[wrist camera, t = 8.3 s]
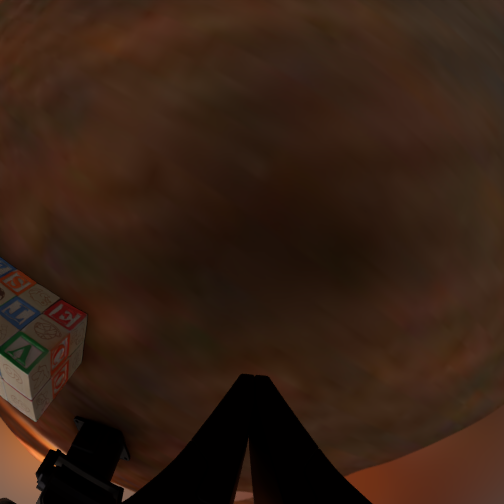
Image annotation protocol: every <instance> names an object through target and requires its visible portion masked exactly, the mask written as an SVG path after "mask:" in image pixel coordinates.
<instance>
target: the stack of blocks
mask: <svg viewBox="0 0 504 504" xmlns="http://www.w3.org/2000/svg"><path fill="white" fill-rule="evenodd" d="M86 325H87V314H86V313H84V312H82V311H80V310H78V309H77V308H75V307H73V306H71V305H70V304H68V303H66V302H65V301H63V300H60V298H59V297H58V296H57V295H55V294H53V293H52V292H50V291H49V290H47V289H46V288H44V287H43V286H41V285H39V284H37V283H36V282H35V281H34V280H32V279H31V278H29V277H28V276H27V275H25V274H24V273H22V272H21V271H20V270H18V269H17V270H16V268H14V267H13V266H12V265H10V264H9V263H8V262H6V261H5V260H4V259H2V258H1V257H0V395H1V396H2V397H3V398H4V399H5V400H7V401H9V402H10V403H11V404H12V405H13V406H15V407H16V408H17V409H18V410H20V411H21V412H22V413H24V414H25V415H26V416H28V417H29V418H31V419H32V420H33V421H35V422H36V421H37V420H38V419H39V417H40V416H41V415H42V413H43V412H44V411H45V409H46V408H47V407H48V405H49V404H50V403H51V401H52V399H54V398H55V397H56V396H57V394H58V393H59V392H60V390H61V389H62V388H63V386H64V385H65V384H66V382H67V381H68V379H69V378H70V377H71V375H72V374H73V373H74V371H75V370H76V369H77V367H78V366H79V365H80V363H81V362H82V355H83V346H84V339H85V333H86Z"/></svg>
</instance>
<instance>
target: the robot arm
mask: <svg viewBox="0 0 504 504" xmlns="http://www.w3.org/2000/svg"><path fill="white" fill-rule="evenodd" d="M74 422H75V424H76V426H77V429H78V431H79V432H78V434H77V435H76V437H75V439H74V441H73V442H72V445H71V447H70V449H69V451H68V453H67V455H65V454H64V453H62V452H61V451H60V450H59V449H57V451H54V450H51V449H50V450H49V452H48V454H47V455H46V457H45V459H44V460H43V462H42V464H41V465H40V467H39V468H38V470H37V472H36V477H37V480H38V481H37V483H38V485H37V487H36V488H37V489H39V490H40V491H42V492H41V494H40V496H39V498H38V500H37V502H36V504H233V503H234V499H235V495H236V491H237V487H238V482H239V478H240V474H241V470H242V465H243V461H244V456H245V452H246V447H247V442H248V437H249V451H250V463H251V475H252V486H253V497H254V504H372V503H371V502H370V501H369V500H368V499H367V498H366V497H364V496H363V495H362V494H361V493H360V492H359V491H358V490H357V489H356V488H355V487H354V486H352V485H351V484H350V483H349V482H348V481H347V480H346V479H345V478H344V477H343V476H342V475H341V474H340V473H339V472H338V471H337V469H336V468H335V467H334V466H333V465H332V464H331V462H330V461H329V460H328V459H327V457H326V456H325V455H324V454H323V452H322V451H321V449H318V448H319V447H318V446H317V444H316V443H315V442H314V440H313V439H312V438H311V436H310V435H309V433H308V432H307V431H306V429H305V428H304V427H303V425H302V424H301V422H300V421H299V420H298V418H297V417H296V415H295V414H294V413H293V411H292V410H291V408H290V407H289V406H288V404H287V403H286V401H285V400H284V398H283V397H282V396H281V394H280V393H279V391H278V390H277V388H276V387H275V385H274V384H273V382H272V381H271V380H270V378H269V377H268V376H263V375H256V376H255V377H254V375H251V374H241V375H240V376H239V377H238V379H237V380H236V381H235V383H234V384H233V385H232V387H231V388H230V390H229V391H228V392H227V394H226V395H225V396H224V398H223V399H222V400H221V402H220V403H219V404H218V406H217V407H216V408H215V410H214V411H213V412H212V414H211V415H210V416H209V418H208V419H207V420H206V421H205V423H204V424H203V425H202V427H201V428H200V429H199V430H198V432H197V433H196V434H195V436H194V437H193V438H192V440H191V441H190V442H189V443H188V444H187V445H186V447H185V448H184V449H183V450H182V451H181V452H180V454H179V455H178V456H177V457H176V458H175V459H174V460H173V461H172V462H171V463H170V464H169V465H168V466H167V467H166V468H165V469H164V470H163V471H161V472H160V473H159V474H158V475H157V476H156V477H154V478H153V479H152V480H151V481H150V482H148V483H147V484H146V485H145V486H144V487H142V488H141V489H140V490H139V491H137V492H136V493H135V494H134V495H132V496H131V497H130V498H128V499H127V500H125V501H123V502H122V497H123V492H124V488H122V487H120V486H117V485H115V484H113V483H111V482H110V481H111V479H112V476H113V474H114V471H115V469H116V466H117V464H118V461H119V459H123V460H127V461H129V460H130V456H129V453H128V450H127V447H126V445H125V442H124V439H123V436H122V433H121V432H120V431H118V430H115V429H111V428H108V427H105V426H102V425H99V424H96V423H93V422H90V421H87V420H84V419H82V418H79V417H75V418H74ZM54 465H56V467H55V466H54ZM0 504H16V503H14V502H13V501H11V500H9V499H7V498H1V499H0Z"/></svg>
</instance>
